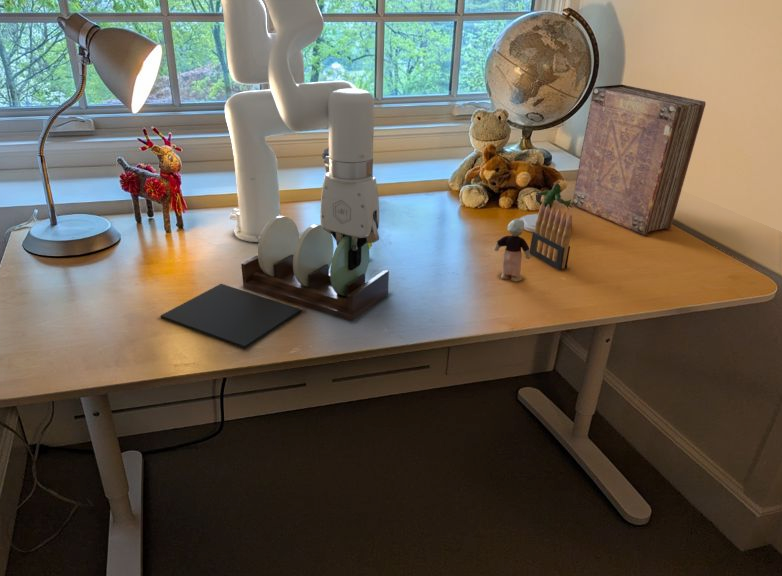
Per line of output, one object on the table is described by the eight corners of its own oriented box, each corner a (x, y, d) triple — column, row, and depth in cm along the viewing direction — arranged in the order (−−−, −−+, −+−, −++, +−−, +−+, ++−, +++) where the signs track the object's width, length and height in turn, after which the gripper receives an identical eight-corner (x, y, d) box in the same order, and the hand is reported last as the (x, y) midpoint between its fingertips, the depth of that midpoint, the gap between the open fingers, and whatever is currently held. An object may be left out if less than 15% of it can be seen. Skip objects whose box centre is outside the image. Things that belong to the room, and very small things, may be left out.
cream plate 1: (259, 284, 126) (254, 226, 119) (296, 263, 134) (294, 208, 128) (263, 285, 125) (259, 227, 119) (300, 264, 134) (298, 209, 128)
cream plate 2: (294, 295, 122) (291, 235, 116) (330, 273, 131) (329, 216, 124) (298, 296, 122) (295, 236, 115) (334, 274, 130) (333, 217, 124)
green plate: (330, 304, 118) (329, 243, 112) (364, 281, 127) (365, 223, 121) (334, 306, 118) (334, 245, 112) (368, 282, 127) (370, 224, 120)
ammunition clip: (566, 269, 138) (577, 215, 131) (560, 270, 137) (570, 216, 131) (535, 251, 146) (543, 199, 139) (528, 252, 145) (537, 201, 139)
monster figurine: (577, 228, 159) (586, 187, 153) (544, 237, 153) (551, 195, 148) (541, 214, 167) (548, 175, 162) (508, 222, 161) (514, 182, 156)
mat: (160, 318, 117) (160, 315, 116) (221, 286, 128) (221, 283, 128) (245, 349, 108) (244, 346, 108) (301, 311, 119) (301, 309, 119)
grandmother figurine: (528, 276, 134) (537, 218, 127) (526, 283, 131) (535, 224, 124) (492, 271, 136) (499, 213, 130) (488, 278, 133) (496, 219, 126)
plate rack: (243, 287, 128) (240, 263, 125) (283, 265, 137) (282, 242, 135) (352, 321, 117) (352, 296, 114) (388, 295, 126) (389, 270, 123)
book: (671, 230, 158) (707, 102, 142) (644, 236, 155) (678, 105, 139) (596, 200, 177) (621, 83, 161) (571, 205, 174) (593, 86, 158)
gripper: (301, 165, 110) (305, 263, 120) (378, 181, 104) (375, 284, 114) (326, 155, 116) (327, 250, 126) (400, 170, 109) (396, 269, 119)
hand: (350, 266), depth 119 cm, fingers closed on green plate, 1 cm apart
